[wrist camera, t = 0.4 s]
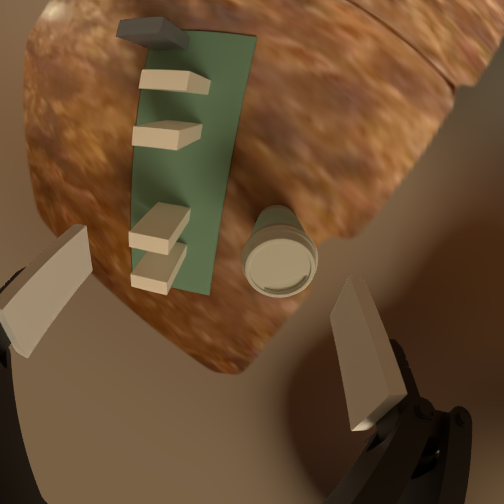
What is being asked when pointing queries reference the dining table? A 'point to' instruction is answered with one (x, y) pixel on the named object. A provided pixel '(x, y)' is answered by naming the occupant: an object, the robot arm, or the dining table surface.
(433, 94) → the dining table surface
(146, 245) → the domino
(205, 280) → the mat
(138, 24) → the slate domino
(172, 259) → the domino
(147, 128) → the domino
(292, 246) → the coffee cup
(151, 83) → the domino
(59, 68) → the dining table surface
